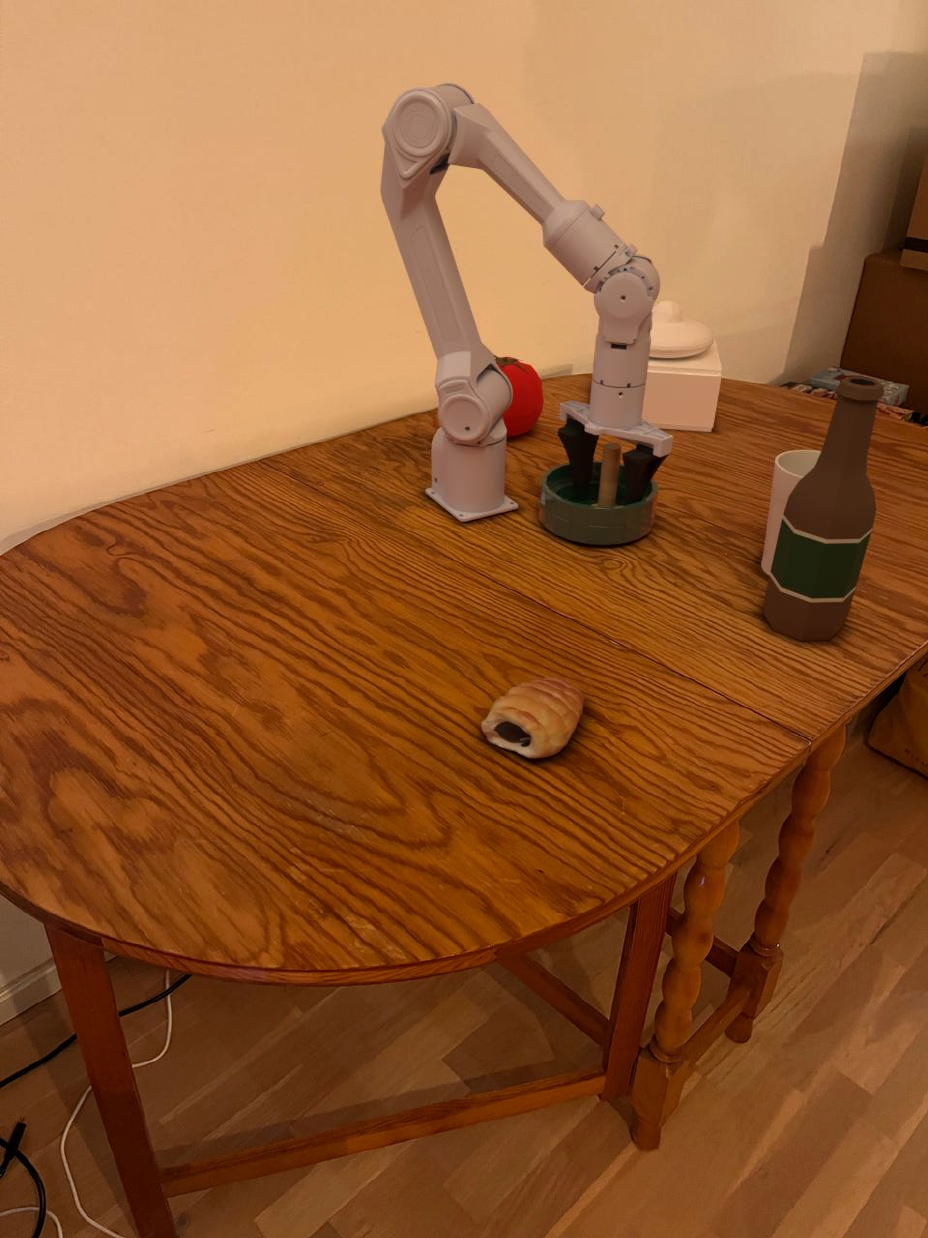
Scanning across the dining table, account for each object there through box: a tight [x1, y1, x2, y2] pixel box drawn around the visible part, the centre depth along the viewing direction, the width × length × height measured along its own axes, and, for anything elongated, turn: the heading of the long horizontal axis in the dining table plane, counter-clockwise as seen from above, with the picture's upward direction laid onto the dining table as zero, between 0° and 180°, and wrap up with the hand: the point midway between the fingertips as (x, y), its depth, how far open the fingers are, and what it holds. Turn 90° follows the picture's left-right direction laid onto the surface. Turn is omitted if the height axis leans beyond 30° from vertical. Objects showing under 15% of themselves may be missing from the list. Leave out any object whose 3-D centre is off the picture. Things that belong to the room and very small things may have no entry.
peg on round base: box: [590, 442, 623, 507], centre depth 104 cm, size 4×4×9 cm
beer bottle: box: [762, 375, 885, 642], centre depth 83 cm, size 8×8×24 cm
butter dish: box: [642, 300, 723, 433], centre depth 136 cm, size 18×18×16 cm
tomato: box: [493, 353, 545, 438], centre depth 128 cm, size 13×12×11 cm
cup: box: [760, 449, 822, 576], centre depth 95 cm, size 8×8×12 cm
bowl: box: [538, 459, 659, 546], centre depth 105 cm, size 13×13×5 cm
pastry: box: [480, 675, 585, 759], centre depth 74 cm, size 9×7×4 cm
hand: (606, 495), depth 105 cm, fingers open, 7 cm apart
